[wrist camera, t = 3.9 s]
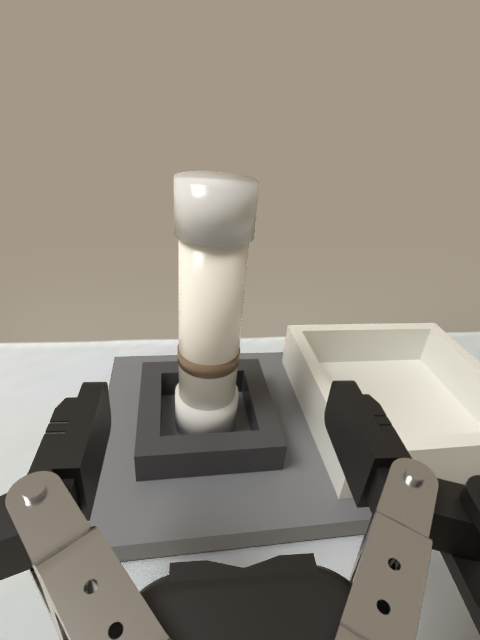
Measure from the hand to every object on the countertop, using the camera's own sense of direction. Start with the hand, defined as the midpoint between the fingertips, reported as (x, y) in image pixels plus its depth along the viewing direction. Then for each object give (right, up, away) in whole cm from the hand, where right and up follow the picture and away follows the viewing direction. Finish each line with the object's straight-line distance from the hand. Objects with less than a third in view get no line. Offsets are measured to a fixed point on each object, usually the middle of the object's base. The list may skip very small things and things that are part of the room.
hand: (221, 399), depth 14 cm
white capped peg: (-1, -3, +9) cm, 10 cm away
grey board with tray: (+5, -4, +11) cm, 13 cm away
